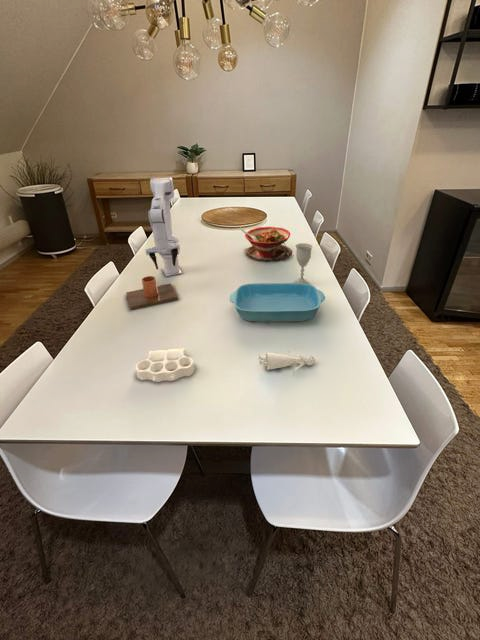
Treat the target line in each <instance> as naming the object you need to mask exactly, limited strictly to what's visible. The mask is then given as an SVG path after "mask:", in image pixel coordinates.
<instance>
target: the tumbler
mask: <svg viewBox="0 0 480 640" xmlns="http://www.w3.org/2000/svg"><path fill="white" fill-rule="evenodd" d="M141 285H142V289H144V294H145V297H148V298H152V297H155V296H157V295H158V289H157V286H158V283H157V279H156V277H155V276H153V275H148V276H143V277H142V278H141Z"/></svg>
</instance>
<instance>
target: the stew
mask: <svg viewBox="0 0 480 640" xmlns="http://www.w3.org/2000/svg"><path fill="white" fill-rule="evenodd" d="M238 227H239V229H240V230H241V232H242V233H244V236H245V239H246V240H247V241H248V242H249V243H250V245H251V246H249V247H247V248H245V250H246V251H245V255H246V256H247V257H249V258H250V259H252V260H255V261H257V262H263V263H264V262H265V263H269V262H270V263H271V262H272V263H273V262H281V261H287V260H288V259H290V257H291V256H293V250H292V249H291V248H290V247H289V246H287V245H286V242H287V241H288V240H289V238H290V237H291V232H290V231H289V230H288V229H285V228H283V227H275V226H260V227H254V228H252V229H249V230H248V231H246V230H244V229H243V228H242V227H241V226H240V225H238Z"/></svg>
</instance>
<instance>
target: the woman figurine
mask: <svg viewBox="0 0 480 640" xmlns="http://www.w3.org/2000/svg"><path fill="white" fill-rule="evenodd" d="M285 352H286V353H288V354H291V355H292V356H289V355H285V354H281V353H275V352H274V353H273V352H266V353H265V357H261V354H260V355H258V360H259V361H258V362H259V363H258V365H262V366H265V367H266V369H267V370H268V371H269V370H274V369H281V368H285V367H289V366H291V365H293V364H298V366H296V368H294V369H292V370H291V374H294V373H295V372H296V371H298V370H299V369H300V368H301V367H303V366H305V364H306V365H307V366H312V365H314V364H315V362H316V359H315V356H307V357H306V358H305V357H304V356H303V355H297V354H295V353H293V352H291V351H290V350H288V349H285Z"/></svg>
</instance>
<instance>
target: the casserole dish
mask: <svg viewBox="0 0 480 640" xmlns="http://www.w3.org/2000/svg"><path fill="white" fill-rule="evenodd" d="M325 298H326V296H325V294H324V292H323V291H322V290H319V289H318V288H317V287H316V286H315V285H312V284H310V283H307V284H305V283H296V282H257V283H256V282H255V283H253V282H252V283H245V284H242V285H240V286H238V287H237V288H236V289H235V290H234V291H232V292H231V293H230V295H229V302H230V303H232V304H234V307H235V310H236V312H237V314H238V316H239V317H240V318H241V319H243V320H246V321H249V322H265V323H266V322H267V323H268V322H269V323H270V322H273V323H274V322H275V323H276V322H305V321H308V320H312V319H313V318H314V317H315V316H316V315H317V313H318V311H319V309H320V307H321V304H322V303H323V302H324V301H325V300H326V299H325Z"/></svg>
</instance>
